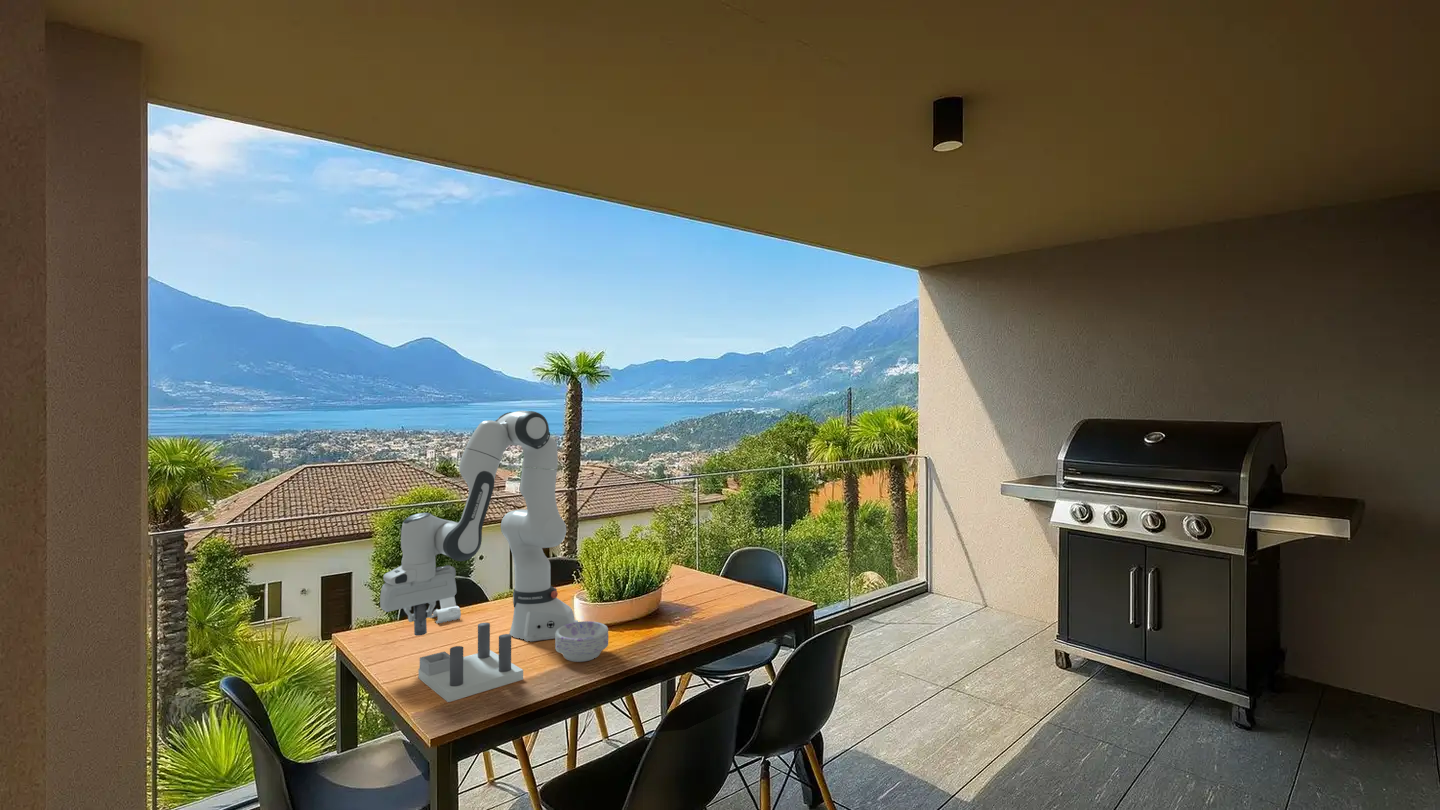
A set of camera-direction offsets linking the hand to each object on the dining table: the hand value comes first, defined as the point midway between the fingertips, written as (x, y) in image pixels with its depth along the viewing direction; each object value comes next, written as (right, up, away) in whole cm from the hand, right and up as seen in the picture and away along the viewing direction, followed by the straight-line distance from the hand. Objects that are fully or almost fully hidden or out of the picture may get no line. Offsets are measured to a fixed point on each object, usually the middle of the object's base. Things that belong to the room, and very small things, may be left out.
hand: (420, 619), depth 189 cm
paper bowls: (+45, -13, +4) cm, 47 cm away
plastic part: (-9, -13, +38) cm, 41 cm away
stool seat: (+19, -12, -12) cm, 26 cm away
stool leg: (0, -4, 0) cm, 4 cm away
